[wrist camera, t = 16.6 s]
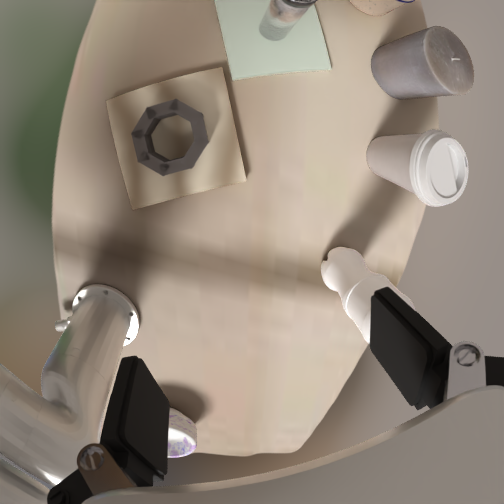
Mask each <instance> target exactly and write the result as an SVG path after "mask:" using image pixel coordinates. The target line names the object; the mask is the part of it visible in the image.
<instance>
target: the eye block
mask: <svg viewBox="0 0 504 504" xmlns="http://www.w3.org/2000/svg"><path fill="white" fill-rule="evenodd" d="M106 105H107V110H108V115H109V120H110V125H111V130H112V134H113V139H114V143H115V147H116V151H117V155H118V160H119V163H120V167H121V171H122V175H123V179H124V182H125V186H126V190H127V193H128V197H129V200H130V203H131V207H132V210H136V209H140V208H143V207H146V206H150V205H154V204H157V203H161V202H164V201H168V200H172V199H175V198H179V197H183V196H187V195H191V194H195V193H199V192H203V191H207V190H211V189H215V188H220V187H224V186H228V185H233V184H237V183H242V182H246V176H245V171H244V166H243V161H242V157H241V152H240V147H239V142H238V138H237V133H236V128H235V123H234V119H233V114H232V109H231V105H230V100H229V95H228V91H227V86H226V81H225V77H224V72H223V68H222V67H220V68H214V69H210V70H205V71H200V72H196V73H192V74H188V75H184V76H180V77H176V78H172V79H169V80H165V81H162V82H158V83H155V84H152V85H148V86H145V87H142V88H139V89H136V90H133V91H130V92H128V93H125V94H122V95H119V96H117V97H114V98H111V99H109V100H106Z"/></svg>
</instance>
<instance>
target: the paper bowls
mask: <svg viewBox="0 0 504 504" xmlns="http://www.w3.org/2000/svg"><path fill="white" fill-rule="evenodd" d="M196 446H197V429H196V426H195V424H194V422H193V421H192V420H191V419H189V418H188V417H186V416H185V415H183V414H182V413H181V412H179V411H178V410H176V409H173V408H170V412H169V431H168V457H181V456H186V455H188V454H190V453H192V452H193V451H194V450H195V449H196Z"/></svg>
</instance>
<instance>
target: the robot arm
mask: <svg viewBox="0 0 504 504" xmlns="http://www.w3.org/2000/svg"><path fill="white" fill-rule="evenodd" d="M72 311H73V314H72V316H71V317H68V318H67V320H59V321H56V322H55V328H56V330H57V331H64V332H63V334H62V336H61V337H60V339H59V341H58V342H57V344H56V346H55V348H54V349H53V351H52V353H51V355H50V356H49V358H48V360H47V362H46V364H45V366H44V368H43V371H42V376H41V387H42V394H43V397H41V396H40V395H39V394H37V393H36V392H35V391H33V390H32V389H31V388H30V387H28V386H27V385H26V384H25V383H23V382H22V381H21V380H19V379H18V378H17V377H16V376H15V375H14V374H12V373H11V372H10V371H9V370H8V369H6V368H5V367H4V366H3V365H2V364H0V453H1V454H2V455H4V456H5V457H6V458H8V459H9V460H11V461H12V462H14V463H15V464H16V465H18V466H19V467H21V468H22V469H24V470H26V471H27V472H29V473H30V474H32V475H34V476H36V477H37V478H39V479H41V480H43V481H45V482H46V483H48V484H51V485H53V486H54V487H53V488H52V489H51V490H49V489H48V488H47V487H46V486H44V485H43V484H41V483H39V482H38V481H37V480H35V479H33V478H32V477H30V476H28V475H27V474H25V473H24V472H22V471H21V470H19V469H18V468H16V467H14V466H13V465H11V464H10V463H8V462H7V461H5V460H4V459H3V458H1V457H0V504H504V357H491V356H484V352H483V350H482V349H481V347H480V346H478V345H477V344H475V343H473V342H468V341H463V342H459V343H457V344H456V345H454V346H452V345H451V344H450V343H449V342H447V340H446V339H445V338H444V337H443V336H442V335H441V334H440V333H439V332H437V330H435V329H434V328H433V327H432V326H431V325H430V324H429V323H428V322H427V321H426V320H425V319H424V318H423V317H421V316H420V314H419V313H417V312H416V311H415V310H414V309H413V308H412V307H410V306H409V305H408V304H407V303H406V302H405V301H404V300H403V299H402V298H401V297H399V296H398V295H397V294H396V293H395V292H394V291H393V290H392V289H391V288H389V287H384V288H381V289H379V290H376V291H375V292H374V295H373V296H371V320H370V349H371V351H372V353H373V354H374V355H375V357H376V358H377V359H378V361H379V362H380V364H381V365H382V367H383V368H384V369H385V371H386V372H387V373H388V375H389V376H390V377H391V379H392V380H393V382H394V383H395V385H396V386H397V387H398V389H399V390H400V391H401V393H402V395H403V396H404V398H405V399H406V400H407V402H408V403H409V404H410V405H411V406H413V405H414V406H415V407H416V409H417V410H419V409H421V408H423V407H425V406H426V405H427V406H428V407H429V408H430V410H428V411H426V412H424V413H423V414H420V415H419V416H417V417H415V418H413V419H411V420H409V421H407V422H405V423H403V424H401V425H399V426H397V427H395V428H393V429H391V430H389V431H387V432H385V433H382V434H380V435H378V436H376V437H374V438H372V439H369V440H367V441H364V442H362V443H359V444H357V445H354V446H352V447H349V448H347V449H344V450H341V451H339V452H336V453H333V454H330V455H327V456H324V457H321V458H318V459H316V460H312V461H309V462H305V463H302V464H299V465H295V466H291V467H288V468H284V469H280V470H276V471H272V472H268V473H263V474H258V475H253V476H248V477H242V478H237V479H230V480H224V481H217V482H209V483H199V484H188V485H175V486H154V487H152V486H153V481H164V475H166V474H167V460H168V431H169V412H170V405H169V401H168V399H167V398H166V396H165V395H164V393H163V392H162V390H161V389H160V387H159V386H158V384H157V382H156V381H155V379H154V378H153V376H152V374H151V373H150V371H149V370H148V368H147V366H146V365H145V363H144V361H143V360H142V359H141V358H139V359H138V357H137V356H130V357H124V358H122V360H121V363H120V366H119V369H118V373H117V376H116V380H115V383H114V387H113V391H112V394H111V396H110V400H109V404H108V408H107V412H106V416H105V420H104V425H103V429H102V434H101V438H100V433H101V423H102V418H103V413H104V409H105V405H106V401H107V397H108V394H109V391H110V387H111V384H112V381H113V377H114V374H115V371H116V368H117V364H118V361H119V358H120V355H121V352H122V349H123V346H125V345H127V344H129V343H130V342H131V341H133V340H134V338H135V337H136V335H137V333H138V330H139V324H140V320H139V315H138V312H137V310H136V308H135V306H134V305H133V303H132V302H131V301H130V300H129V298H128V297H126V296H125V295H124V294H123V293H122V292H120V291H118V290H117V289H115V288H113V287H110V286H107V285H103V284H93V285H89V286H86V287H84V288H83V289H81V290H80V291H79V292H78V293H77V295H76V297H75V298H74V301H73V305H72Z"/></svg>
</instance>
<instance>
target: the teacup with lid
mask: <svg viewBox="0 0 504 504" xmlns="http://www.w3.org/2000/svg"><path fill="white" fill-rule="evenodd" d="M349 1H350V2H351V3H352V4H353V5H354V6H355V7H356V8H357V9H359V10H360V11H362V12H364V13H366V14H369V15H372V16H382V15H385V14H386V13H388V12H390V11H392V10H394V9H396V8H398V7H399V6H401V5H403V4H405V3H410V2H413V1H414V0H349Z"/></svg>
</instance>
